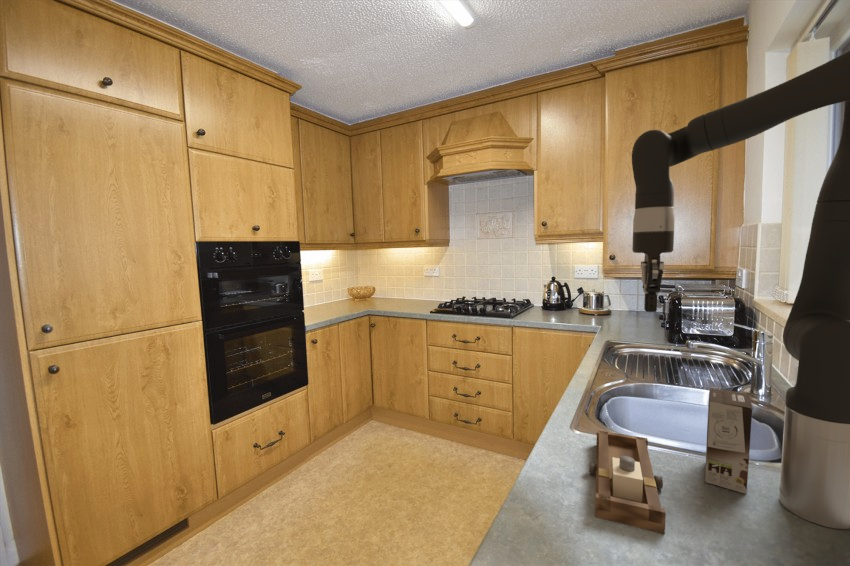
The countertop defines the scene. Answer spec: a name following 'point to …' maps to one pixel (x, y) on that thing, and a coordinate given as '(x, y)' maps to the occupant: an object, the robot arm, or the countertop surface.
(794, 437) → the robot arm
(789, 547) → the countertop surface
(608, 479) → the wooden slider track
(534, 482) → the countertop surface
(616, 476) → the rider
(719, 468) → the coffee box
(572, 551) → the countertop surface
